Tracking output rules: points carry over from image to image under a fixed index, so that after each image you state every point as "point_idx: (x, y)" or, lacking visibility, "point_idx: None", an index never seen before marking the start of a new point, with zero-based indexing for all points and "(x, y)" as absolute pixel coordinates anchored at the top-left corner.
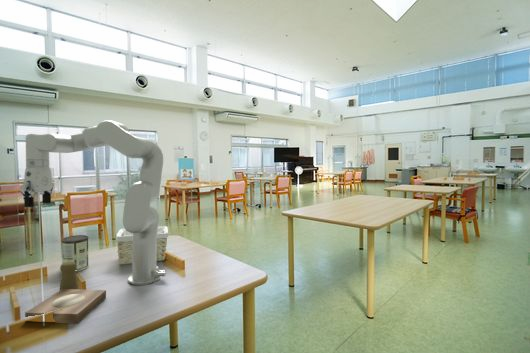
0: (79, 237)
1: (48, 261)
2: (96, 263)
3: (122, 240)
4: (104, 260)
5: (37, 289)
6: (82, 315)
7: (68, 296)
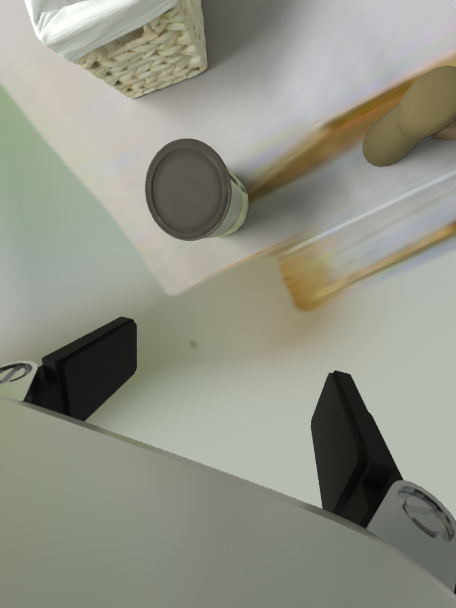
0: (174, 181)
1: (172, 292)
2: None
3: None
4: None
5: (350, 232)
6: None
7: None
